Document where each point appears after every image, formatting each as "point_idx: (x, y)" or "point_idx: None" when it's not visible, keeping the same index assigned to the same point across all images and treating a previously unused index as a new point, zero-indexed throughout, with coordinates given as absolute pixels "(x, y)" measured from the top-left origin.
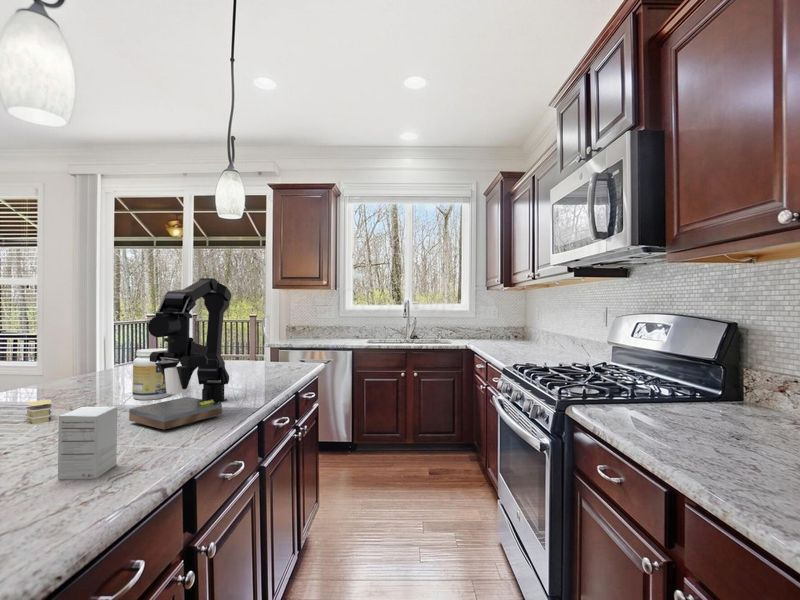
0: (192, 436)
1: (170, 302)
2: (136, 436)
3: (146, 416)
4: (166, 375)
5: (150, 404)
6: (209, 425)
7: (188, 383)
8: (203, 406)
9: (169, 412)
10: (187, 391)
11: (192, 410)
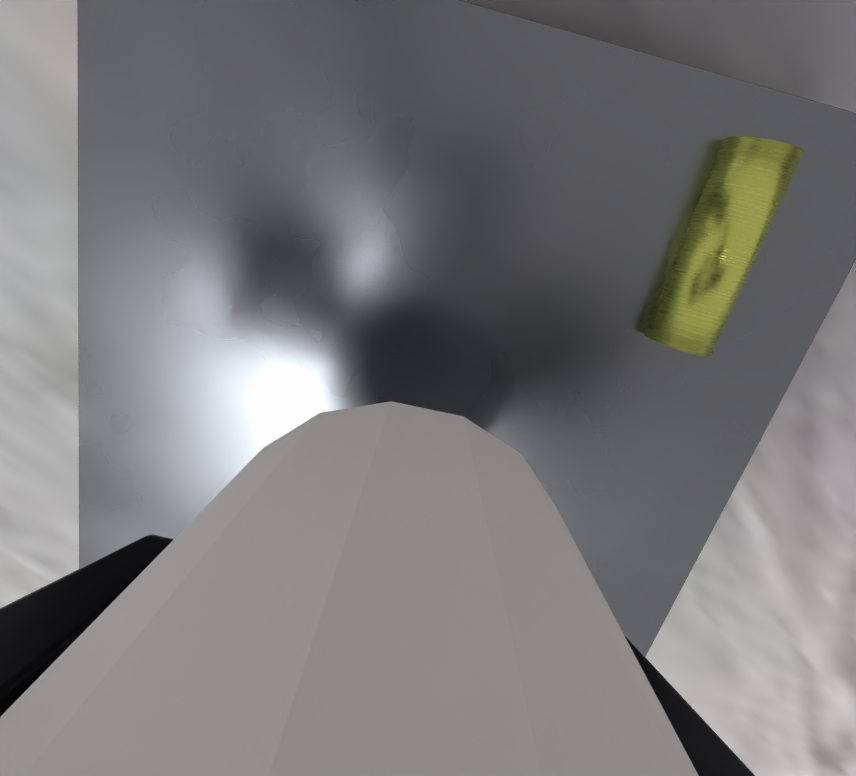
0: (793, 640)
1: None
2: None
3: None
4: None
5: (80, 480)
6: (789, 415)
7: (703, 723)
8: (730, 360)
9: None
10: (560, 515)
11: (701, 534)
